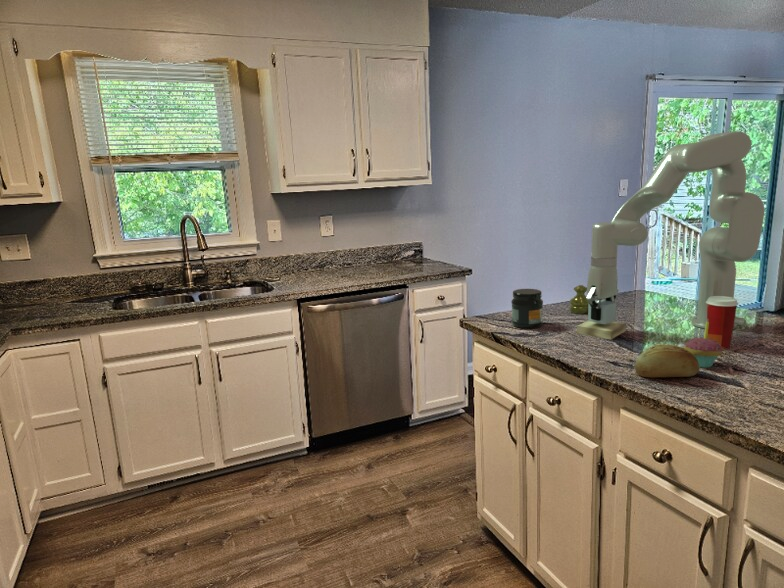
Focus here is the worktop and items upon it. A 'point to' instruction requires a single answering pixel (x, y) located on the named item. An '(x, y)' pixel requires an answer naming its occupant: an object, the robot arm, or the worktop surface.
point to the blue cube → (605, 312)
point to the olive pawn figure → (579, 301)
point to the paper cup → (721, 319)
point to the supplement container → (527, 308)
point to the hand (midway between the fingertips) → (602, 317)
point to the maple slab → (601, 329)
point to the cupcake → (704, 349)
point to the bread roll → (666, 362)
